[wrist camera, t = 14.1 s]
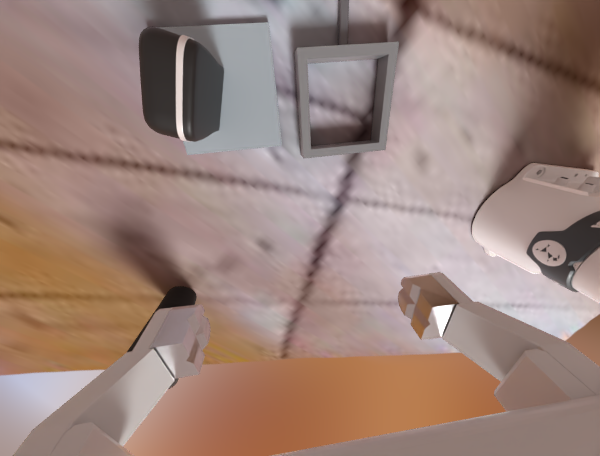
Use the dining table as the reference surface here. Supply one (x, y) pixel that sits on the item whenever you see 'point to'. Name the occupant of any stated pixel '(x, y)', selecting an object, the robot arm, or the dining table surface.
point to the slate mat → (240, 86)
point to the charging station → (345, 52)
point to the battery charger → (179, 85)
